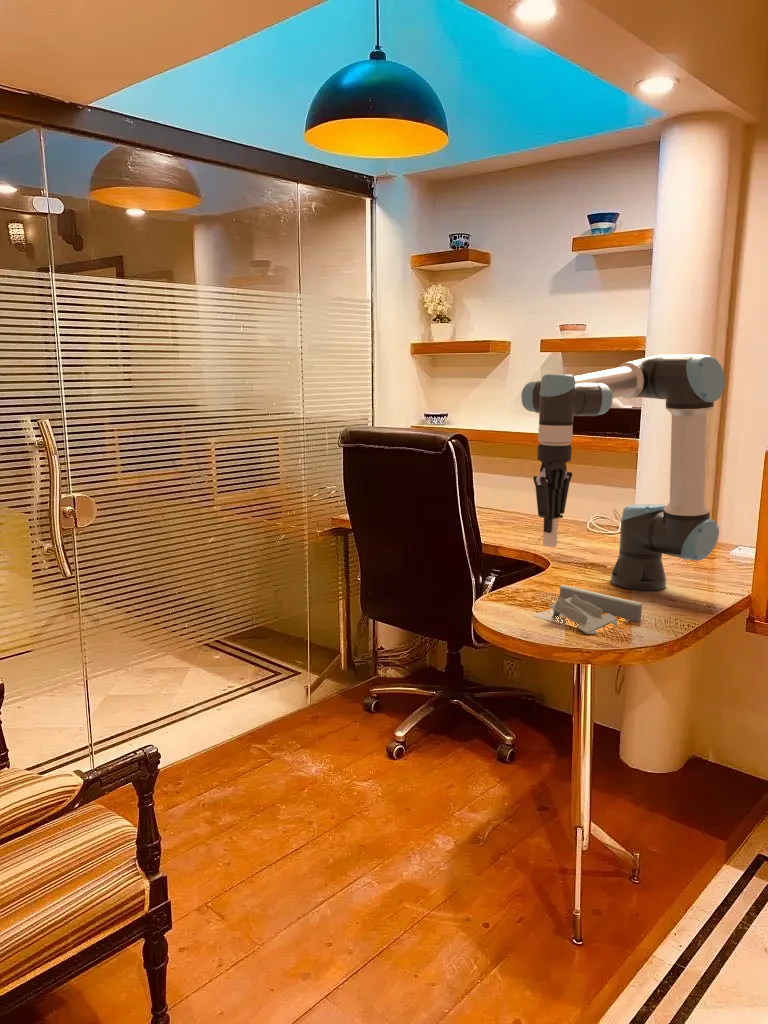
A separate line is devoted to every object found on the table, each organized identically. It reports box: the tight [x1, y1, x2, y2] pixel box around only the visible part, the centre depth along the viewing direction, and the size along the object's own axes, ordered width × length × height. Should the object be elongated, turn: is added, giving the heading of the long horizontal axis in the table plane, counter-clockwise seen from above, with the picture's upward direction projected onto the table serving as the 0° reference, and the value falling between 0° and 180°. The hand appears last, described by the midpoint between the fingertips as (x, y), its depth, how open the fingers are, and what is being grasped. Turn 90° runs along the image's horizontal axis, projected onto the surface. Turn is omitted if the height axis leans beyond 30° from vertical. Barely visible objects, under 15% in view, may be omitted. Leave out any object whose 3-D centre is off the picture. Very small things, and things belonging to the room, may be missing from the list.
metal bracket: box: [548, 595, 619, 635], centre depth 188 cm, size 14×6×15 cm
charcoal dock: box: [532, 584, 644, 626], centre depth 192 cm, size 17×22×5 cm
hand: (549, 545), depth 180 cm, fingers closed
